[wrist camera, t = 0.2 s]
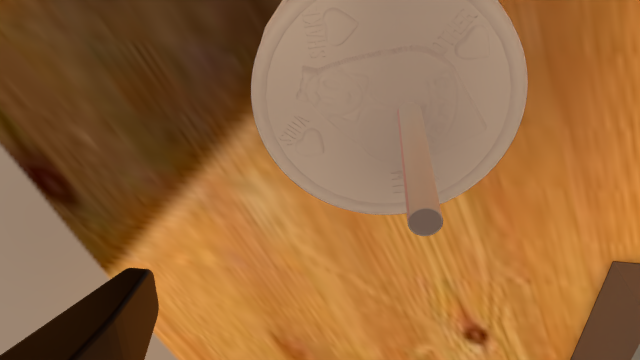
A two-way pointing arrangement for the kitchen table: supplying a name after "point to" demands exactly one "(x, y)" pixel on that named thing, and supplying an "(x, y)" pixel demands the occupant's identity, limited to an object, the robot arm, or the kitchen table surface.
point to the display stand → (614, 318)
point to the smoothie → (389, 100)
